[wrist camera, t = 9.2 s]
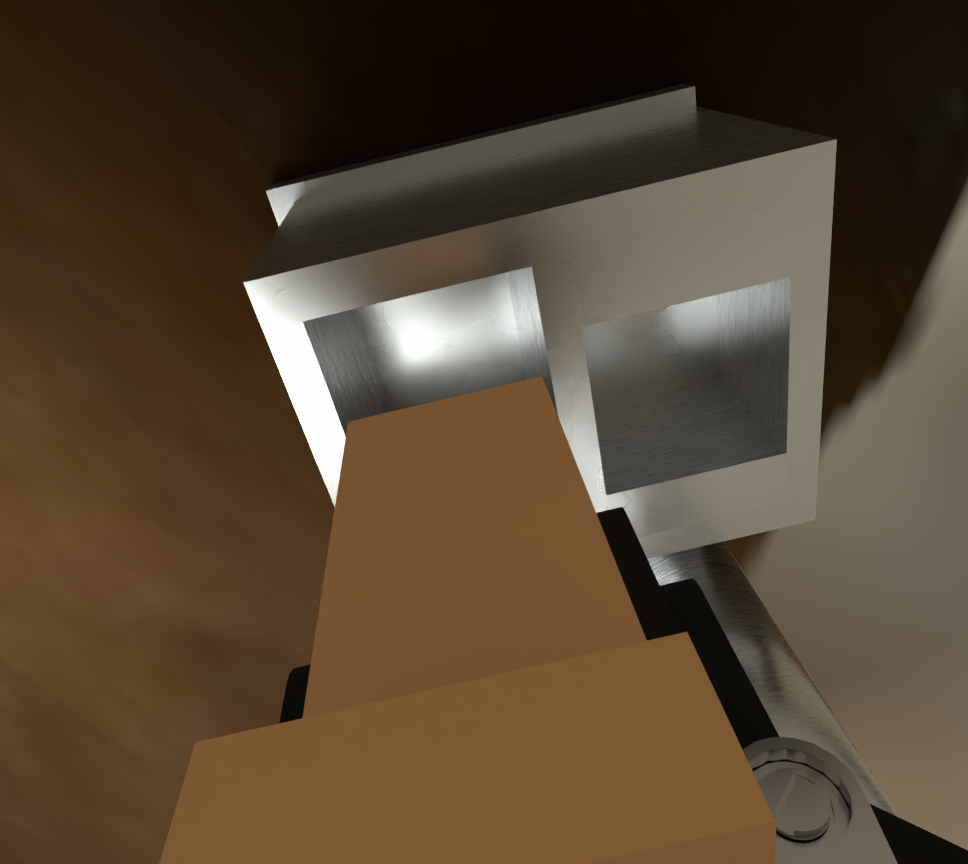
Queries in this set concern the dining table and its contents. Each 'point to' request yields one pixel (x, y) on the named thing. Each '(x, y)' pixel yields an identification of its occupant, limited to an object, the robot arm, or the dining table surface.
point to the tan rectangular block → (478, 678)
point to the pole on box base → (592, 325)
